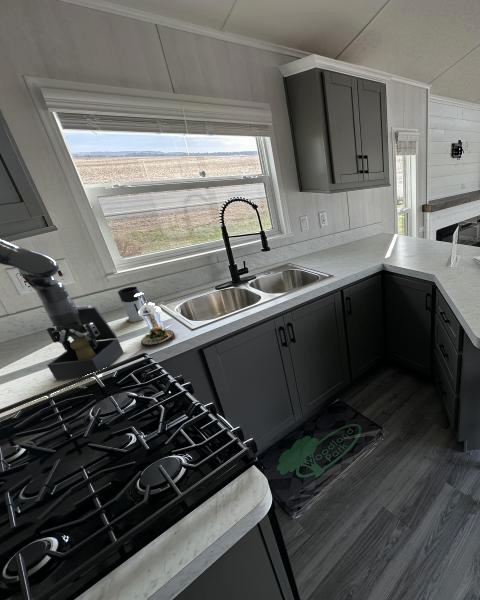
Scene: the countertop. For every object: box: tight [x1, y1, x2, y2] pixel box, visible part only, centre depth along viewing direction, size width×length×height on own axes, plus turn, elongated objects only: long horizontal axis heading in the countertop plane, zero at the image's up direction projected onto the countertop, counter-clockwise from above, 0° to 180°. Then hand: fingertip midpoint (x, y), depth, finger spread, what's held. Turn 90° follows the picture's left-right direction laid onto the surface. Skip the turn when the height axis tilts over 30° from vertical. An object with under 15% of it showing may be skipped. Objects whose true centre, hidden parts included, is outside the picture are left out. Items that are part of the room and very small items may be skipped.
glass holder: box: [117, 286, 148, 323], centre depth 158 cm, size 9×14×15 cm, turn 72°
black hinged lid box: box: [46, 338, 125, 381], centre depth 125 cm, size 15×15×7 cm
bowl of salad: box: [140, 325, 176, 346], centre depth 140 cm, size 12×12×8 cm
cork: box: [70, 338, 96, 360], centre depth 123 cm, size 6×6×11 cm
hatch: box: [70, 304, 118, 341], centre depth 127 cm, size 15×15×5 cm
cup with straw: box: [133, 292, 165, 331], centre depth 145 cm, size 8×9×20 cm
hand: (83, 348), depth 123 cm, fingers open, 8 cm apart
